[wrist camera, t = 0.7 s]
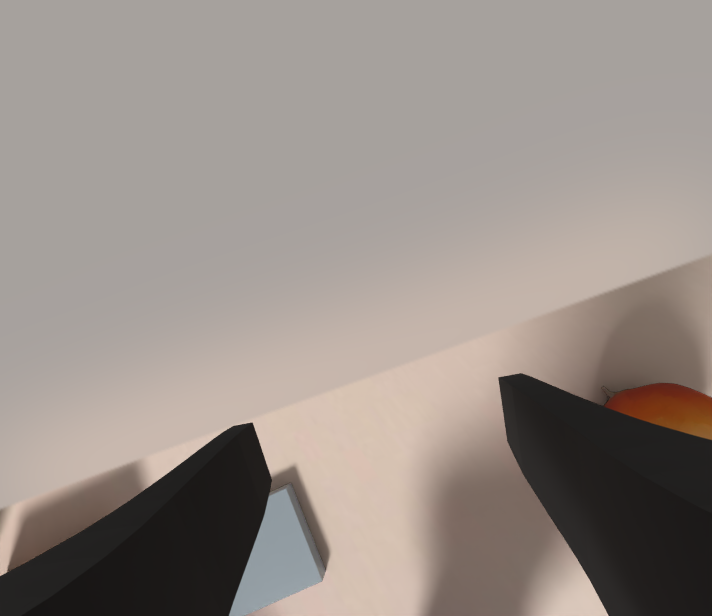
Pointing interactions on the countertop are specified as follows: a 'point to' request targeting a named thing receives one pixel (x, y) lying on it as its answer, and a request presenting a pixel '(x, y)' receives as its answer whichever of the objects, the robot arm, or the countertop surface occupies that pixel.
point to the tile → (279, 556)
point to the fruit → (666, 407)
